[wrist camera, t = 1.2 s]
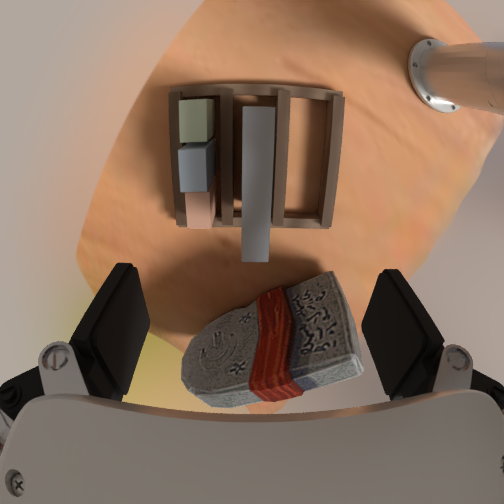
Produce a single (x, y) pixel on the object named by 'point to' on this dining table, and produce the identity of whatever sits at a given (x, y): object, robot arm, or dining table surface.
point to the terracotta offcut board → (201, 207)
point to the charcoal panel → (257, 181)
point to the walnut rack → (280, 151)
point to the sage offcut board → (196, 120)
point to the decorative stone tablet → (275, 347)
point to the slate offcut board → (197, 166)
